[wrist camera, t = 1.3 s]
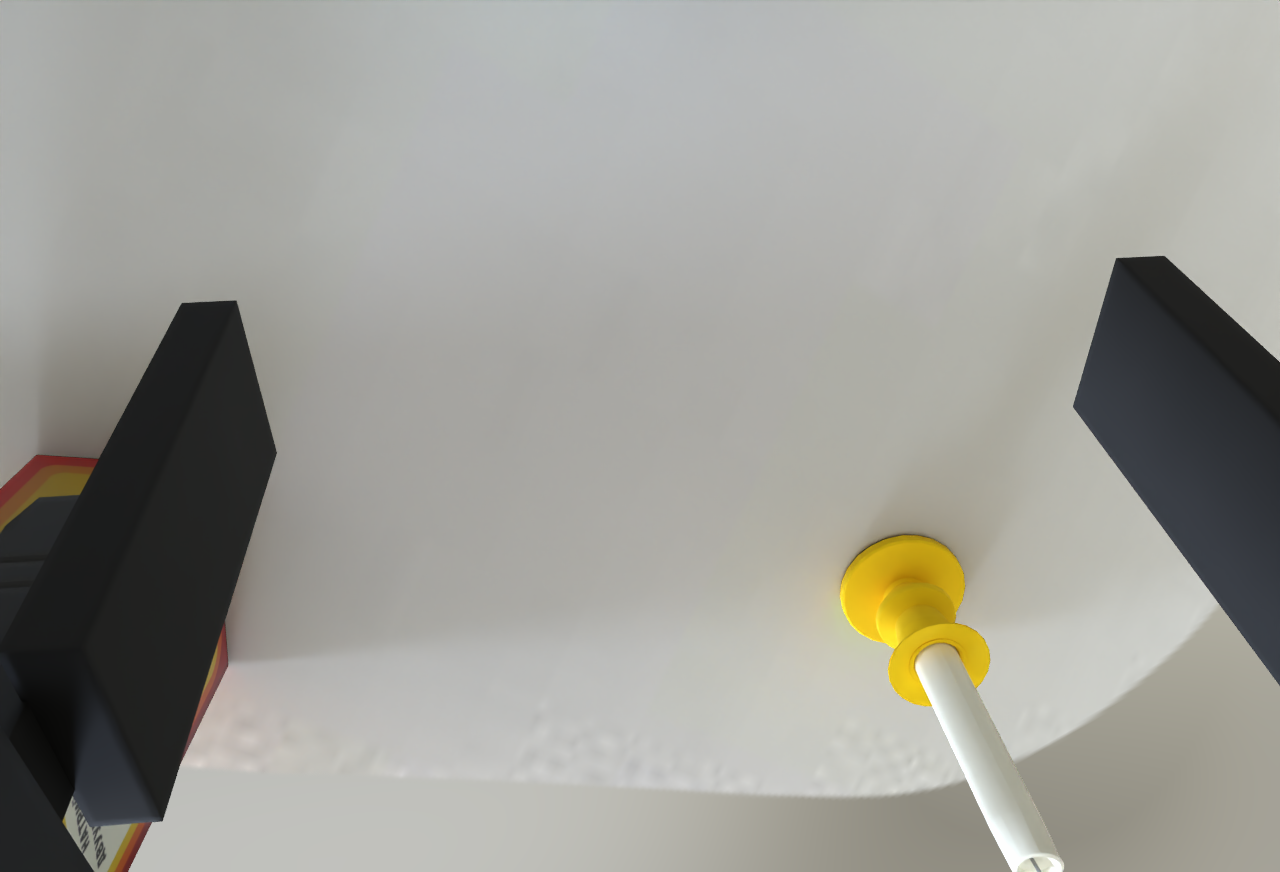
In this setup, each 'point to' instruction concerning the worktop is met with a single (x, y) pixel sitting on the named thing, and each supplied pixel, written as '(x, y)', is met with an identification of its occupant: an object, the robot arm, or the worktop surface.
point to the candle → (945, 678)
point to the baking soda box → (120, 843)
